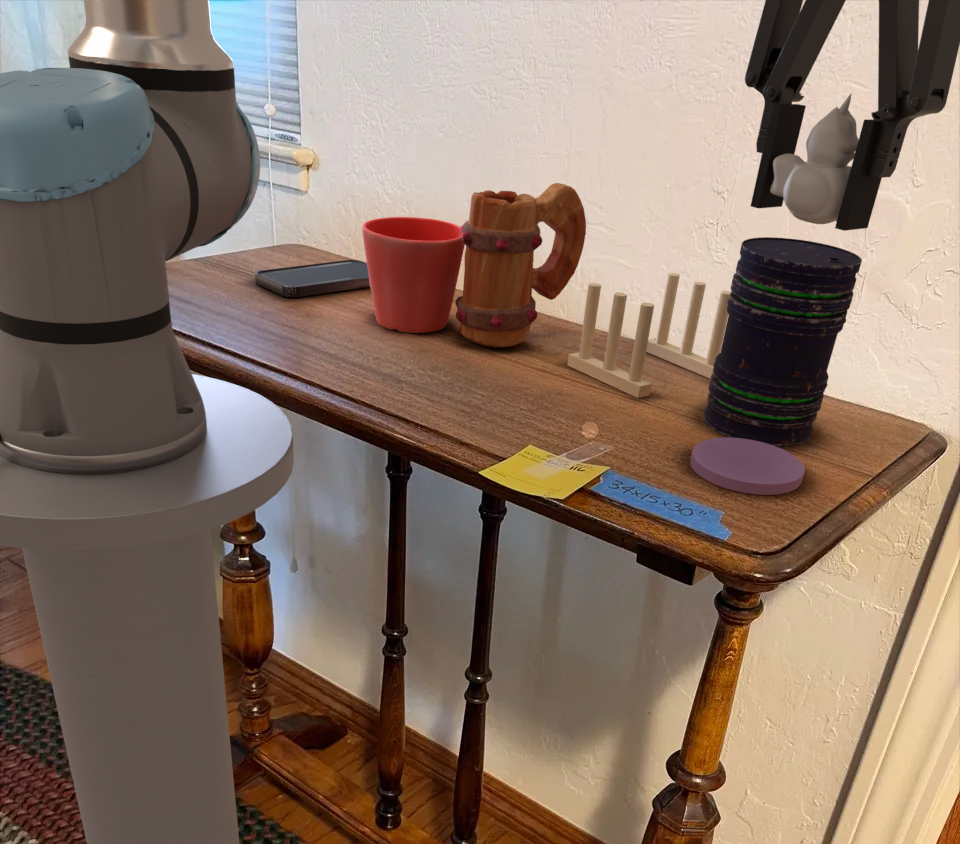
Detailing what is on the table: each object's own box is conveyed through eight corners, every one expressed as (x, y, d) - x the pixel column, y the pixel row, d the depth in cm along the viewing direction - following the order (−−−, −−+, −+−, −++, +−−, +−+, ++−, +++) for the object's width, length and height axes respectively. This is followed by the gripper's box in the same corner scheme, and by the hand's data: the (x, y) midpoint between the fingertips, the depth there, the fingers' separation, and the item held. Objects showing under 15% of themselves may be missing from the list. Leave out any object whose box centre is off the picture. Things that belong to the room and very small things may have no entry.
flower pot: (381, 341, 98) (383, 240, 92) (348, 310, 106) (348, 215, 100) (476, 335, 102) (483, 239, 96) (437, 306, 110) (442, 215, 104)
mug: (475, 358, 96) (487, 195, 87) (434, 333, 101) (442, 178, 93) (590, 343, 103) (612, 191, 94) (546, 321, 108) (564, 176, 100)
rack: (637, 398, 90) (653, 309, 85) (567, 365, 96) (578, 281, 91) (725, 378, 97) (744, 295, 92) (654, 349, 103) (668, 269, 98)
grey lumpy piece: (832, 234, 64) (870, 98, 59) (744, 215, 67) (773, 84, 63) (864, 226, 67) (902, 97, 63) (779, 208, 71) (809, 84, 66)
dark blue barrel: (681, 419, 86) (726, 204, 76) (736, 396, 92) (784, 194, 82) (780, 456, 81) (843, 230, 71) (831, 429, 87) (895, 217, 77)
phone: (250, 271, 111) (356, 258, 120) (251, 281, 112) (356, 268, 120) (288, 288, 106) (394, 273, 115) (288, 298, 107) (394, 283, 116)
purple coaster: (753, 504, 73) (756, 493, 72) (667, 460, 78) (669, 449, 78) (824, 480, 77) (827, 469, 77) (738, 440, 83) (740, 429, 82)
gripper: (1122, -219, 50) (963, 244, 63) (814, -197, 62) (734, 188, 75) (1055, -248, 46) (900, 253, 59) (740, -218, 58) (669, 192, 71)
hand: (807, 216), depth 67 cm, fingers closed on grey lumpy piece, 6 cm apart
